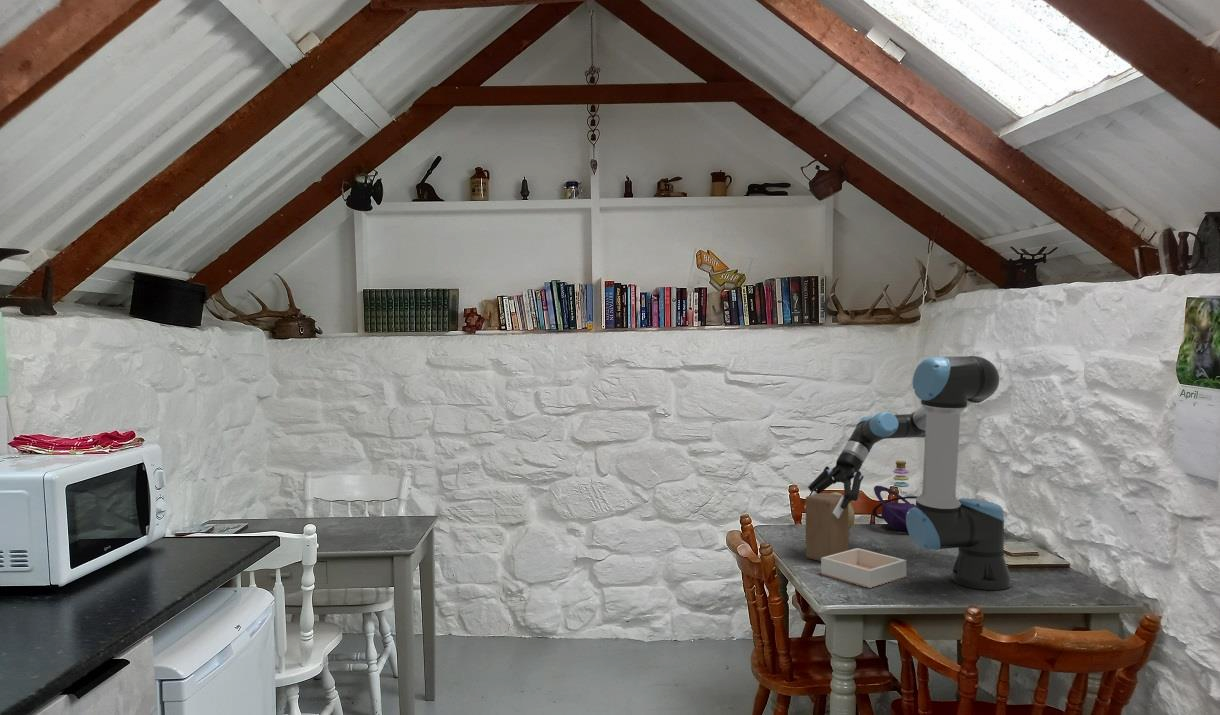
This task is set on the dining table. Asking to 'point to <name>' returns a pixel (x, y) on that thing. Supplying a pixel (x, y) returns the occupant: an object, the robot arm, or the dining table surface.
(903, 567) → the shallow white tray
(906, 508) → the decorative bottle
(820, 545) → the wooden block
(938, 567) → the dining table surface
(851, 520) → the speckled cream ball
